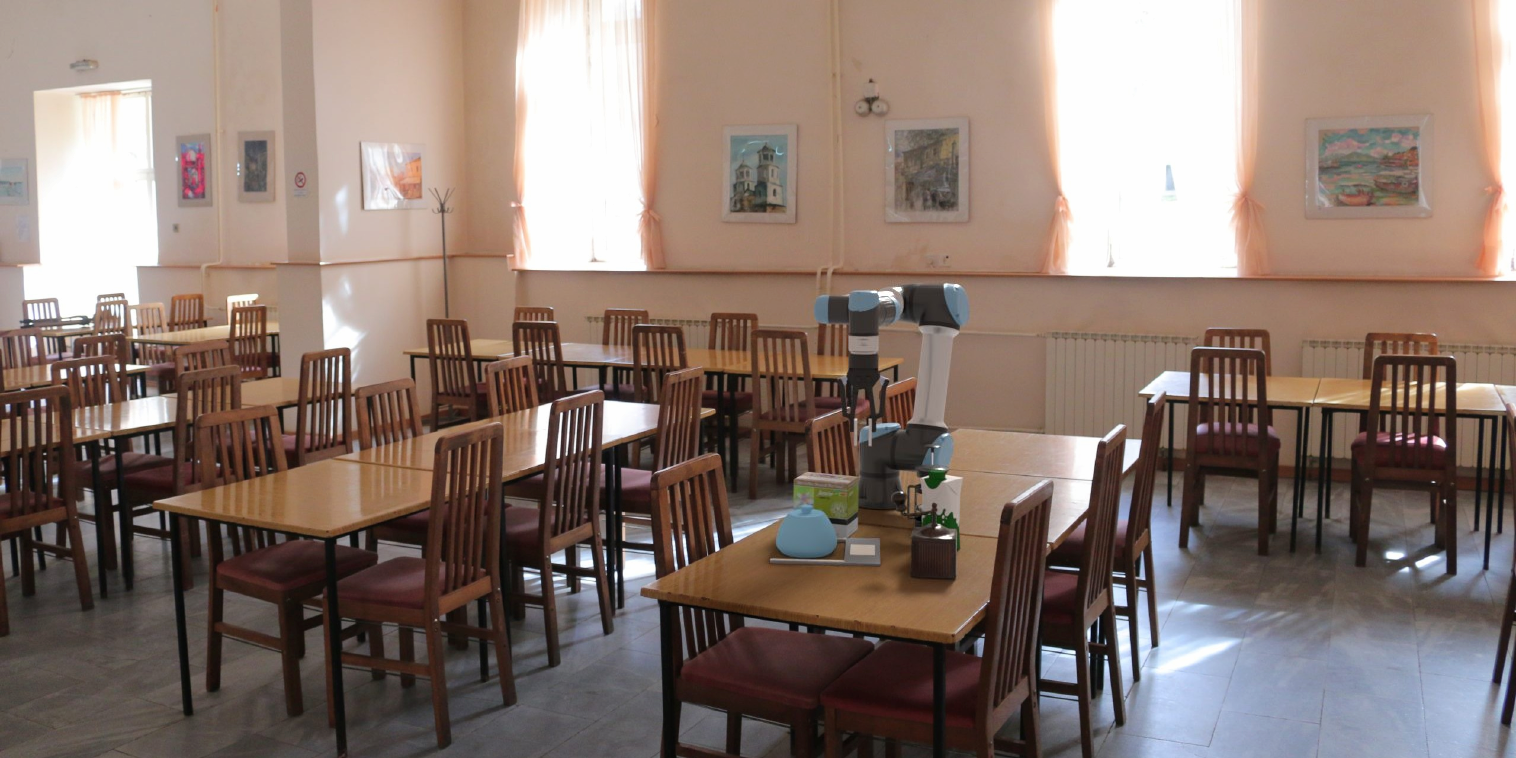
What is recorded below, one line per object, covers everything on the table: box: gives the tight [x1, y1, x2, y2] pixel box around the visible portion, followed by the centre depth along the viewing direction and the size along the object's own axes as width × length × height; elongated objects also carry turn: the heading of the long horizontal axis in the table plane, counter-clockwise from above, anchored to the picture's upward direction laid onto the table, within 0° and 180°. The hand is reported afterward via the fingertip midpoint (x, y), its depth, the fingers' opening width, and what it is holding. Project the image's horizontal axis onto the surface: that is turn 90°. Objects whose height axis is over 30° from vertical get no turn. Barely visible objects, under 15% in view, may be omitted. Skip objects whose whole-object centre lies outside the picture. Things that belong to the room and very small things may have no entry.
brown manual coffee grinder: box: [891, 491, 958, 581], centre depth 267 cm, size 16×11×18 cm
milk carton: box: [919, 469, 964, 550], centre depth 286 cm, size 9×9×20 cm
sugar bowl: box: [775, 505, 838, 559], centre depth 285 cm, size 15×15×12 cm
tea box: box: [792, 471, 859, 538], centre depth 303 cm, size 15×10×15 cm
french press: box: [906, 444, 951, 528], centre depth 303 cm, size 12×9×23 cm
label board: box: [769, 537, 881, 567], centre depth 285 cm, size 23×26×1 cm
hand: (862, 444), depth 293 cm, fingers open, 3 cm apart
